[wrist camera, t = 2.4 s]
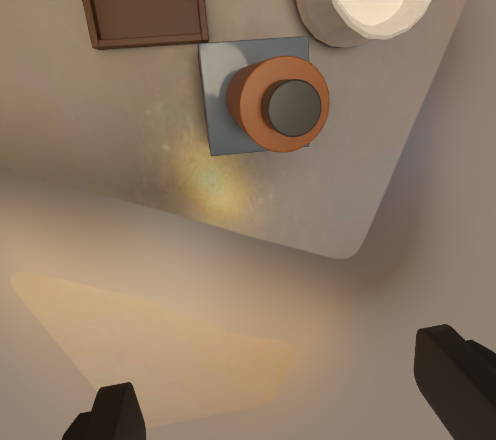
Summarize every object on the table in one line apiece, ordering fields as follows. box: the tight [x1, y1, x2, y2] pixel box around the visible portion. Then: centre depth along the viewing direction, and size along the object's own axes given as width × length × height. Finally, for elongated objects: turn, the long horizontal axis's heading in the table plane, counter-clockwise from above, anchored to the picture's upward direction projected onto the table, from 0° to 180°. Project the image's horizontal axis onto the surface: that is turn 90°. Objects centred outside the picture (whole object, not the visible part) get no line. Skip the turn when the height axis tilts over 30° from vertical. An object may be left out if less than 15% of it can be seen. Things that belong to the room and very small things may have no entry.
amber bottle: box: [226, 56, 329, 152], centre depth 21 cm, size 5×5×11 cm
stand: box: [198, 36, 309, 156], centre depth 31 cm, size 8×8×10 cm
